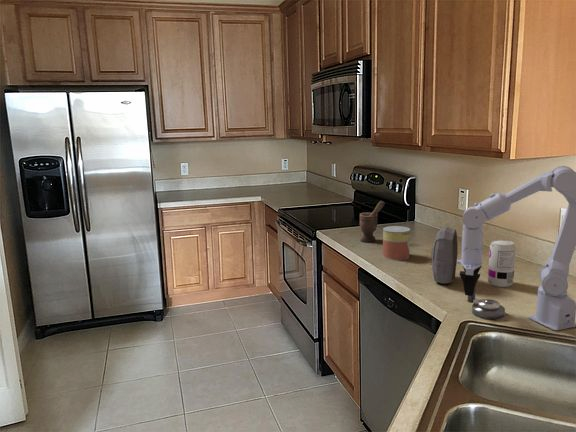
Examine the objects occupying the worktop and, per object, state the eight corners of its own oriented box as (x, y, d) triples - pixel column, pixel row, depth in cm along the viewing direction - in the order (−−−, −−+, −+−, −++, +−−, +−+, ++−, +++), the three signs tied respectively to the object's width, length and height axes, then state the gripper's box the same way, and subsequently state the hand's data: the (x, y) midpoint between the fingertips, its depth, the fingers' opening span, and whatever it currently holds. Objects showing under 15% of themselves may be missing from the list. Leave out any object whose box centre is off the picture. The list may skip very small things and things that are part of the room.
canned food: (410, 260, 196) (411, 232, 194) (382, 259, 198) (382, 231, 196) (409, 252, 207) (409, 226, 205) (382, 252, 209) (383, 225, 207)
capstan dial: (503, 306, 141) (504, 293, 140) (493, 312, 137) (494, 299, 137) (472, 297, 148) (473, 285, 148) (462, 303, 145) (463, 290, 144)
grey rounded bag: (451, 288, 163) (453, 232, 159) (426, 285, 167) (428, 230, 163) (457, 275, 176) (459, 223, 172) (434, 272, 180) (436, 221, 176)
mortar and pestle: (382, 238, 232) (383, 198, 228) (384, 243, 224) (385, 201, 220) (358, 238, 233) (359, 198, 229) (360, 243, 225) (360, 201, 221)
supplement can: (483, 284, 167) (486, 243, 164) (493, 278, 172) (496, 238, 169) (507, 289, 161) (510, 247, 158) (516, 283, 167) (519, 242, 163)
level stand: (511, 316, 139) (511, 310, 139) (486, 321, 136) (486, 315, 136) (489, 306, 148) (489, 299, 147) (465, 310, 145) (465, 303, 144)
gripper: (459, 240, 148) (458, 281, 151) (455, 252, 135) (453, 297, 138) (484, 242, 145) (481, 284, 148) (482, 254, 132) (479, 300, 135)
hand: (469, 290), depth 143 cm, fingers open, 7 cm apart
